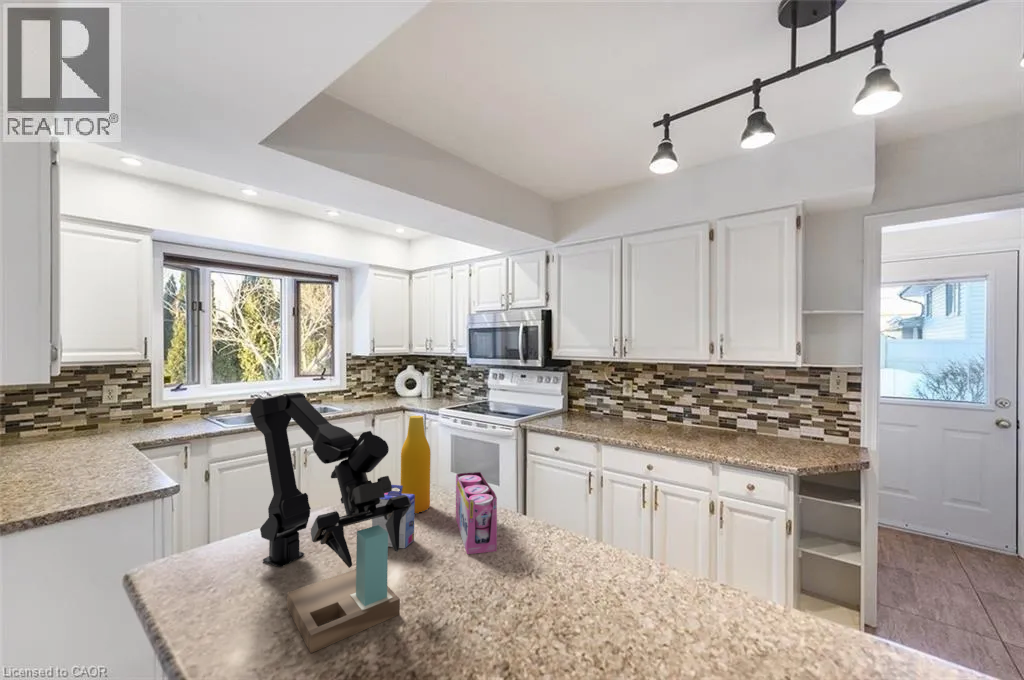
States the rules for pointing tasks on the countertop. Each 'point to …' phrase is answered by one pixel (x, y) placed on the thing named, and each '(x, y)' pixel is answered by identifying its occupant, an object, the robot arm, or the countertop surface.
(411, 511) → the ink cartridge box
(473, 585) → the countertop surface
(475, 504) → the gum box
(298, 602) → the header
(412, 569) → the countertop surface
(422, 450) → the beer bottle
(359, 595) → the plug
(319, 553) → the countertop surface
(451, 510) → the countertop surface
